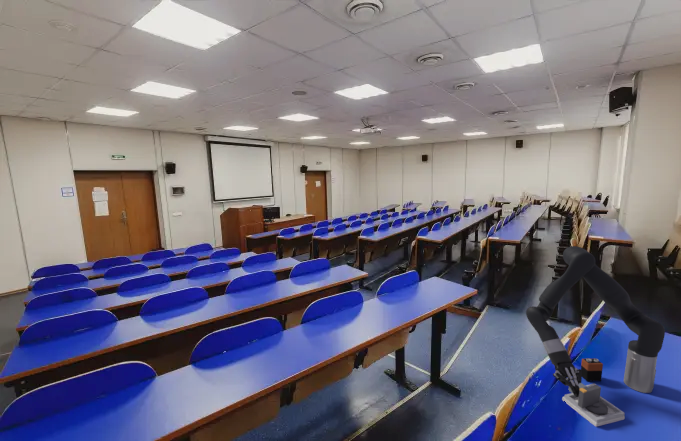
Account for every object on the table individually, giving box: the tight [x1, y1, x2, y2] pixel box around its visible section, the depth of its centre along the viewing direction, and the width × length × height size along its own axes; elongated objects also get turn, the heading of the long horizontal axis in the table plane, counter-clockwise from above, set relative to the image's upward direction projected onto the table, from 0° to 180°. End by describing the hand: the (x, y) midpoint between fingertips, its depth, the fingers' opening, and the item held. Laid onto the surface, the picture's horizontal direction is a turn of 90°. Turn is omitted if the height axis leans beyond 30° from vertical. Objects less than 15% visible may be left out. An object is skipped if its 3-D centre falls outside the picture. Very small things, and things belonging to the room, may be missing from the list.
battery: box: [580, 357, 604, 382], centre depth 139 cm, size 4×7×10 cm, turn 89°
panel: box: [561, 392, 625, 427], centre depth 122 cm, size 14×14×3 cm
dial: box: [578, 384, 608, 415], centre depth 121 cm, size 12×9×9 cm
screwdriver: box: [568, 382, 597, 393], centre depth 133 cm, size 14×3×3 cm, turn 103°
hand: (579, 396), depth 121 cm, fingers closed
